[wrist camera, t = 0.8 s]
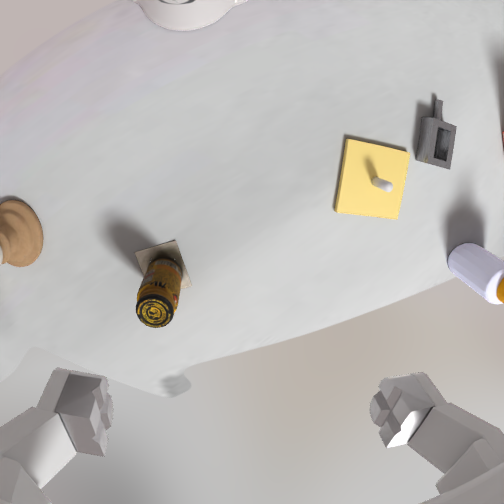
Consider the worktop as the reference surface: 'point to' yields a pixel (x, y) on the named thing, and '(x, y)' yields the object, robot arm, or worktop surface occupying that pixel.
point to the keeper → (371, 180)
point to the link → (429, 139)
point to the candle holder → (19, 234)
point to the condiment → (160, 283)
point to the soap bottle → (479, 271)
